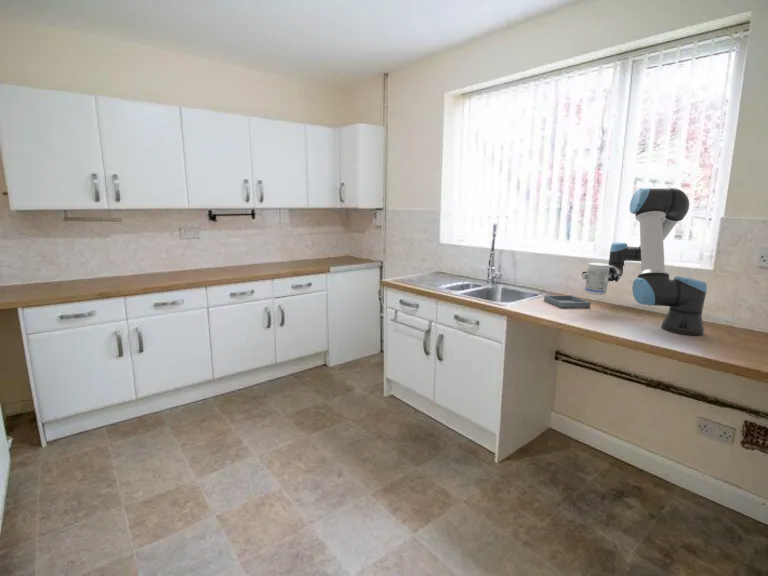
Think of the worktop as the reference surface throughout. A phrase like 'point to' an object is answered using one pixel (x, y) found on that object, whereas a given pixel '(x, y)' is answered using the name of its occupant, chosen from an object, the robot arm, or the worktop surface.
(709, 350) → the worktop surface
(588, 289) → the supplement tub
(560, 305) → the tray
